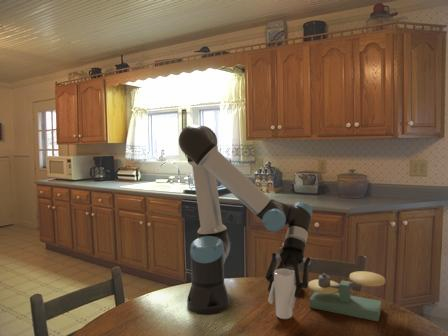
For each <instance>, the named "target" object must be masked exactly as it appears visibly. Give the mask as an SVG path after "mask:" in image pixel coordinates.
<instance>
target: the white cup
mask: <svg viewBox="0 0 448 336" xmlns="http://www.w3.org/2000/svg"><path fill="white" fill-rule="evenodd" d="M276 269H277V268H276ZM276 269H275V270H274V273H273V274H274V292H275V295H274V301H275V302H274V303H275V315H276V317H277V318H279V319H281V320H288V319H289V320H290V319H291V318H292V317H293V308H291V307H290V300H291V296H292V291H293V288H294V285H295V276H294V271H292V270H293V269H289V268H285V269H277V270H276Z"/></svg>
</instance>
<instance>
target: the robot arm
mask: <svg viewBox="0 0 448 336" xmlns="http://www.w3.org/2000/svg"><path fill="white" fill-rule="evenodd" d="M178 145H179V148H180V150H181V151H182V152H183V154H184V155H185V156H186V158H187V163H188V164H189V165H190V166H191V167H192V174H193V180H194V187H195V196H196V202H197V209H198V210H197V211H198V218H199V219H198V220H199V225H200V227H199V228H198V230H197V238H196V239H194V240H193V241H192V242H191V244H190V250H189V252H190V253H189V254H190V274H191V275H190V276H191V286H190V289H189V292H188V295H187V298H186V300H187V301H186V303H187V309H188V310H189V311H190V312H193V313H194V314H198V315H214V314H218V313H222V312H224V311H226V310H227V309H228V308H229V307H230V295H229V294H228V290H227V286H226V285H225V284H226V283H225V268H224V267H225V262H226V259H227V258H228V256H229V254H230V252H231V246H232V243H231V239H230V237H229V235H228V229H227V226H226V225H224V224H223V221H222V220H223V219H222V213H221V205H220V197H219V190H218V188H219V187H218V182H219V183H220V184H221V185H223V186H224V188H226V189H227V191H229V192H230V193H231V194H233V195H234V197H235V198H236V199H237V200H239V201H240V202H241V203H242V204H243V205H244V207H246V208H247V209H249V210H250V212H251V213H253V214H254V215H255V216H256V217H257V219H258V220H260V221H261V222H262V224H263V227H265V229H266V230H267V231H270V232H272V233H273V232H279V231H281V230H282V229H283V228H284V226H285V225H286V226H287V230H286V233H285V239H284V242H283V246H282V249H281V252H280V253H275V252H273V253H272V255H271V256H272V259H271V262H270V264H269V266H268V269H267V272H266V274H265V280H266V281H267V282H269V283H268V284H269V285H268V288H267V291H268V293H269V295H268V298H267V301H268V303H269V304H270V305H273V303H274V300H275V292H274V271H275V270H277V269H287V267H291V268H293V270H294V271H295V278H296V285H297V286H294V288H293V291H292V296H291V300H290V307H291V308H292V310H293V309H294V308H295V304H296V300H297V299H299V298H300V294H301V290H302V289H307V288H308V283H309V282H308V281H309V274H310V273H309V271H310V266H311V264H312V260H311V258H310V257H305V256H304V254H305V250H306V244H307V240H308V236H309V232H310V231H309V230H310V227H311V222H312V219H313V218H312V217H313V207H312V206H311V205H310V204H309V203H306V202H304V201H303V202H300V201H299V202H296V203H294V204H293V205H289V204H287V203H284V202H281V201H279V200H276V199H273V198H270V197H269V196H267V194H265V193H264V192H263V191H262V190H261V189H259V187H258V186H257V185H256V184H254V183H253V182H252V181H251V180H250V179H249V178H248V177H247V176H246V175H245V174H243V172H241V170H239V169H238V168H237V167H236V166H235V165H234V164H233V163H232V162H231V161H229V160H228V159H227V158H226V156H224V155H223V154H222V153H221V151H219V149H218V138H217V135H216V133H215V132H214V130H213V129H211V128H210V127H208V126H206V125H198V124H191V125H188V126H186V127H184V128H183V130H181V132H180V134H179V137H178ZM217 181H218V182H217ZM279 259H281V261H280V262H279V265H278V266H277V264H278V261H279ZM302 262H303V272H302V281H301V273H300V268H299V267H300V264H301V263H302ZM276 267H277V268H276Z"/></svg>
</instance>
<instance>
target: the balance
mask: <svg viewBox="0 0 448 336" xmlns="http://www.w3.org/2000/svg"><path fill="white" fill-rule="evenodd" d="M349 280H350V281H348V280H342V279H341V280H340V283H338V282H336V281H334V280H331V276H330V275H328V274H327V273H325V272H324V273H322V274H320V275H318V278H317V279H312V280H310V281H309V282H308V284H307V288H308V289H309V290H310V291H312V292H313V293H312V295H311V297H309V308H312V309H315V310H322V311H326V312H331V313H334V314H340V315H343V316H350V317H355V318H360V319H365V320H369V321H374V322H375V321H376V322H379V321H380V315H381V311H382V300H378V299H372V298H366V297H361V296H356V295H351V291H352V289H351V288H356V287H362V286H364V287H380V286H384V284H386V278H385V277H384V276H383V275H381V274H379V273H375V272H373V271H365V270H362V271H361V270H360V271H353V272H350V274H349Z"/></svg>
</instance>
